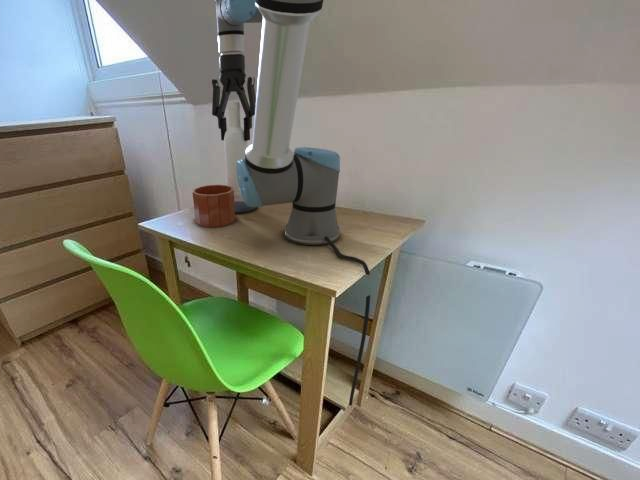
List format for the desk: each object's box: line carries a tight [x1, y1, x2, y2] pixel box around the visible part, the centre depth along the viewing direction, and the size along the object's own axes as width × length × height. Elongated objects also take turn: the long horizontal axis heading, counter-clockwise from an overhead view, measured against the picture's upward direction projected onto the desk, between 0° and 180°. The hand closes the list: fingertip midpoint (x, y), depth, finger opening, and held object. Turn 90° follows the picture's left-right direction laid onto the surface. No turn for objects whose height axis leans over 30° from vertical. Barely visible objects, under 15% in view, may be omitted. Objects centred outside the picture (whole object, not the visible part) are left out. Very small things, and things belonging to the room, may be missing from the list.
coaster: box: [234, 201, 258, 215], centre depth 123 cm, size 13×13×1 cm
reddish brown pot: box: [191, 184, 236, 228], centre depth 111 cm, size 13×13×10 cm
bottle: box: [223, 101, 249, 202], centre depth 113 cm, size 8×8×30 cm
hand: (235, 139), depth 111 cm, fingers closed on bottle, 8 cm apart
